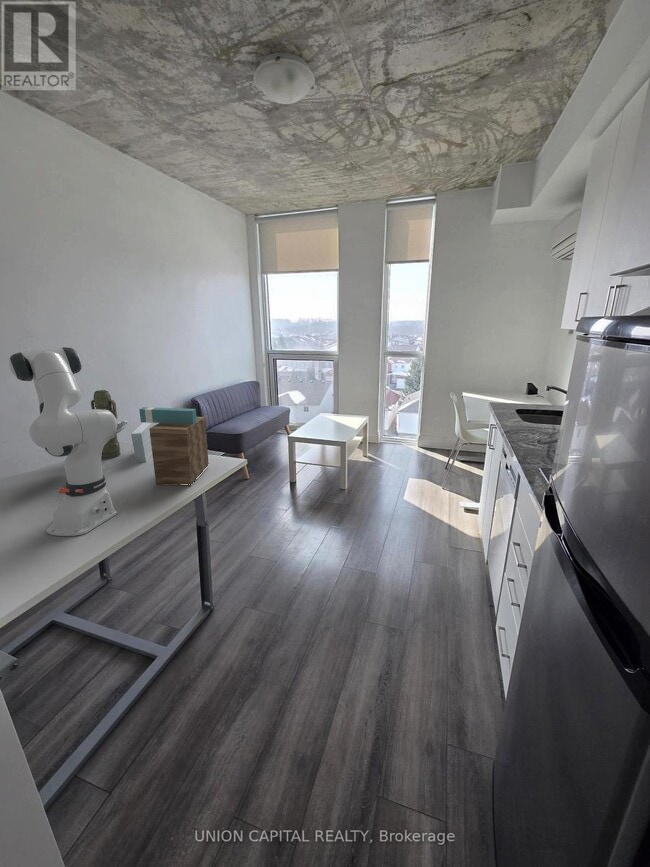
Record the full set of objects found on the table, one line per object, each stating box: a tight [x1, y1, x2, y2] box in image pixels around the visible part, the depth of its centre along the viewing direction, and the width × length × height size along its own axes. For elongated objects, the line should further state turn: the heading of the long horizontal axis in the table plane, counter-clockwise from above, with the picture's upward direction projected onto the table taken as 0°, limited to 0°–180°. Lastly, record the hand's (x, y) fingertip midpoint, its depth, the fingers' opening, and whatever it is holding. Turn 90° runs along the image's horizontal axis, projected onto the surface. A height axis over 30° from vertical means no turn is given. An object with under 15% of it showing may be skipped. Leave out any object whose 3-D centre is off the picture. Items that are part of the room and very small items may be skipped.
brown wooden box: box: [149, 416, 210, 485], centre depth 168 cm, size 22×16×26 cm
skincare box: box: [130, 422, 154, 463], centre depth 193 cm, size 21×5×16 cm, turn 10°
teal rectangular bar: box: [138, 406, 198, 424], centre depth 163 cm, size 4×24×6 cm, turn 87°
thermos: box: [90, 389, 121, 459], centre depth 189 cm, size 9×12×35 cm
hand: (120, 424), depth 166 cm, fingers open, 8 cm apart
